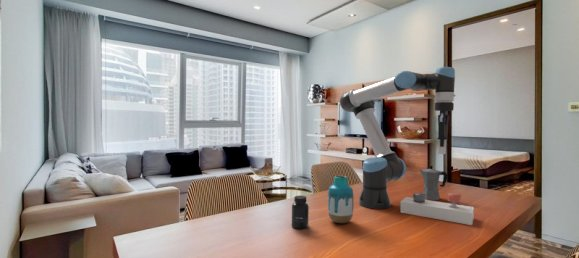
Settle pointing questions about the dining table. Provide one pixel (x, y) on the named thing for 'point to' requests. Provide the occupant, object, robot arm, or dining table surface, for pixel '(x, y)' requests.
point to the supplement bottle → (300, 213)
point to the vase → (340, 200)
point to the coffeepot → (432, 183)
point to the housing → (438, 210)
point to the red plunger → (454, 199)
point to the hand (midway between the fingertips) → (442, 153)
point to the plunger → (419, 197)
